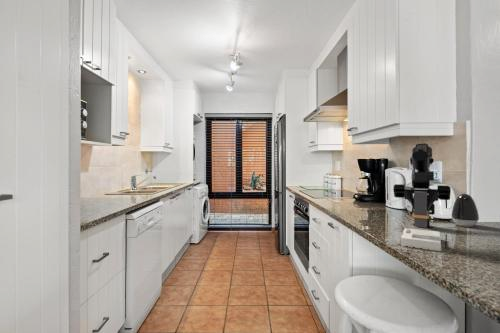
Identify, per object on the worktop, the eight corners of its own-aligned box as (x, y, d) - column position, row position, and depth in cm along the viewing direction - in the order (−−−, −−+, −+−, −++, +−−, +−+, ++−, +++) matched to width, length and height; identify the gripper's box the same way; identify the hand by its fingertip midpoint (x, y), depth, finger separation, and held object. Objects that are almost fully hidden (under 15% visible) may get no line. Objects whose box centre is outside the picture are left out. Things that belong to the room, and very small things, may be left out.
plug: (413, 223, 107) (412, 190, 106) (428, 225, 104) (428, 191, 103) (412, 226, 102) (412, 192, 102) (429, 228, 99) (428, 193, 99)
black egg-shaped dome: (455, 227, 126) (455, 194, 126) (448, 222, 135) (448, 192, 135) (483, 228, 122) (482, 195, 122) (473, 224, 132) (473, 192, 132)
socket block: (404, 235, 114) (404, 226, 114) (439, 239, 107) (439, 230, 107) (401, 245, 100) (401, 236, 100) (441, 251, 93) (440, 240, 93)
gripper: (393, 164, 111) (390, 194, 102) (450, 164, 101) (452, 197, 92) (395, 182, 118) (393, 211, 109) (448, 183, 107) (451, 216, 98)
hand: (420, 209), depth 102 cm, fingers closed on plug, 4 cm apart
